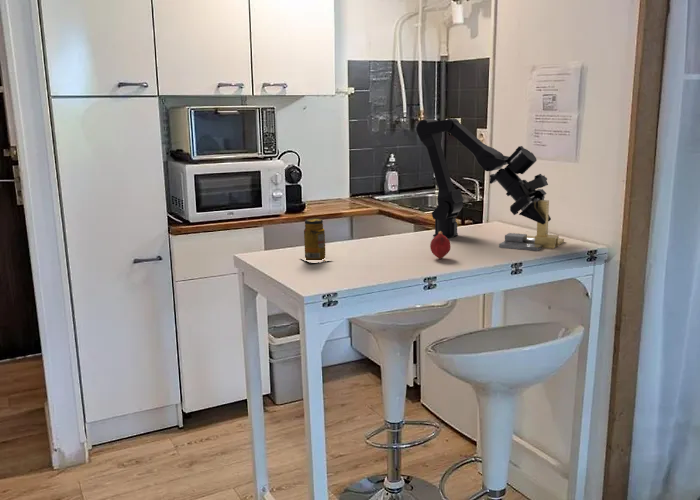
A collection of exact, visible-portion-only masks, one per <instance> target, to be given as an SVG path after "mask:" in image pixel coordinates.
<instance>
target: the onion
mask: <svg viewBox="0 0 700 500" xmlns="http://www.w3.org/2000/svg"><path fill="white" fill-rule="evenodd" d="M429 247H430V248H429V249H430V251H431V254H432V255H434V256H435V257H436V258H437V259H439V260H440V259H441V260H442V259H443V258H444V257H445V256H447V255H448V254H449V253H450V251H451V247H452V246H451V242H450V239H449V238H447V237H445V236H444V235H443V234H442V232H441V231H440V232H439V233H438V235H437V236H435V237H434V236H433V238H432V239H431V241H430V245H429Z"/></svg>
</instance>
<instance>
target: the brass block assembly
mask: <svg viewBox="0 0 700 500" xmlns="http://www.w3.org/2000/svg"><path fill="white" fill-rule="evenodd" d="M538 211H539V212H540V214H541V215H542V217H543V218H544V220H545V221H546V223H545V224H541V223H538V222H536V235H535V236H534V235H527V238H535V243H533V244H540V245H543V246H542V249H556V247H559V246H560V245H562V244H563V243H565V238H559V237H560V236H559V234H558V235H557V234H549V221H548V215H549V216H550V214H549V211H550V200H547V199H544V200H539V201H538ZM555 242H556V243H555Z"/></svg>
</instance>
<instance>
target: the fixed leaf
mask: <svg viewBox="0 0 700 500" xmlns="http://www.w3.org/2000/svg"><path fill="white" fill-rule="evenodd" d="M527 236H528V234H526V233H516V232H508V233H507V234H504V240H503V241H502V242H500V243H499V244H498V248H501V249H511V250H513V249H514V250H526V251H533V252H539V251H540V250H541V249H543V248H542V246H543V245H540V244H534V243H535V238H527ZM555 243H556V242H555Z"/></svg>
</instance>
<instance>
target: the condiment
mask: <svg viewBox="0 0 700 500" xmlns="http://www.w3.org/2000/svg"><path fill="white" fill-rule="evenodd" d="M325 233H326V231H325V228H324V221H323V219H321V218H307V219H305V220H304V230H303V239H304V240H303V243H304V245H303V246H304V258H306V260H322V259H324V258H326V238H325V237H326V234H325Z"/></svg>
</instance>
